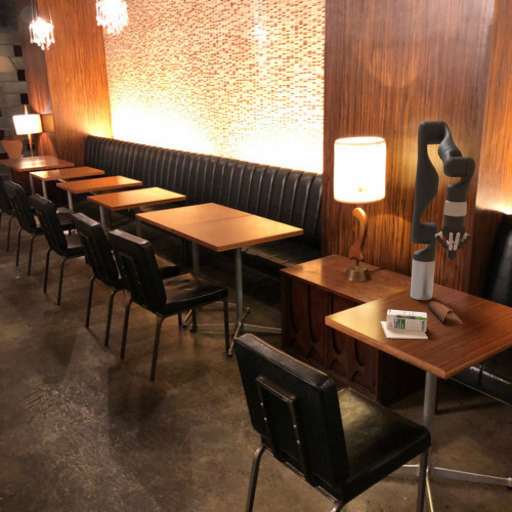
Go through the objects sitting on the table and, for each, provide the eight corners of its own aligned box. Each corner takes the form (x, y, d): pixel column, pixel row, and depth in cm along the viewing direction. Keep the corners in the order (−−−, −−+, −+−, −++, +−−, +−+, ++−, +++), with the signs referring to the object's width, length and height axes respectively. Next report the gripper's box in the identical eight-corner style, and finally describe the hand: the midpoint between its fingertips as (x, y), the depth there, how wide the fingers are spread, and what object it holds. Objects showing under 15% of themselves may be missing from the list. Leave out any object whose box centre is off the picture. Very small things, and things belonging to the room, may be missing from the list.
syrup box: (426, 332, 199) (385, 328, 203) (425, 326, 205) (386, 322, 208) (427, 318, 198) (386, 314, 201) (427, 312, 203) (387, 308, 207)
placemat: (380, 322, 210) (380, 321, 210) (418, 323, 209) (418, 321, 209) (386, 338, 196) (386, 337, 195) (427, 339, 194) (427, 337, 194)
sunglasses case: (465, 324, 207) (457, 310, 206) (448, 333, 208) (441, 319, 206) (447, 307, 225) (440, 294, 223) (432, 315, 225) (425, 303, 224)
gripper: (471, 211, 197) (466, 256, 202) (433, 210, 198) (430, 256, 203) (477, 215, 189) (472, 262, 194) (438, 215, 191) (434, 262, 196)
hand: (450, 259), depth 199 cm, fingers closed
